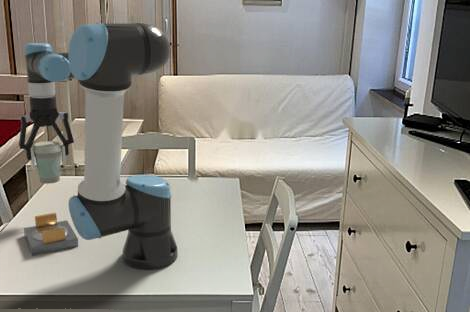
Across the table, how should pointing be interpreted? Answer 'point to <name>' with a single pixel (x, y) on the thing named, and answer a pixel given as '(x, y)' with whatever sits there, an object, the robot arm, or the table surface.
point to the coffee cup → (48, 161)
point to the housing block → (49, 235)
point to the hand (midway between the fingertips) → (49, 167)
